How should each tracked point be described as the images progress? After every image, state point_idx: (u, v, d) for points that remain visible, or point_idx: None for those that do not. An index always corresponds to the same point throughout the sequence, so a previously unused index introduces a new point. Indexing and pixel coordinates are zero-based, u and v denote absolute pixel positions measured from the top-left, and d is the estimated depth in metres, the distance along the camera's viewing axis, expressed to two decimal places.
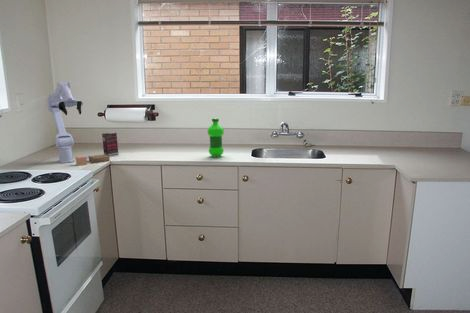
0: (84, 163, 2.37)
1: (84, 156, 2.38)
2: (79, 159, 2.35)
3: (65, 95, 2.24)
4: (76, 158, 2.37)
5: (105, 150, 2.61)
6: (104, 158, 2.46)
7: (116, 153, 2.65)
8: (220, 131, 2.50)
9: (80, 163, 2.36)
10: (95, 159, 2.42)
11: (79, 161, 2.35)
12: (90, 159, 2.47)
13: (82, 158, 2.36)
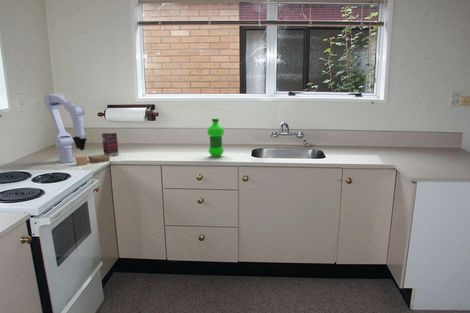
0: (84, 163, 2.37)
1: (84, 156, 2.38)
2: (79, 159, 2.35)
3: (83, 128, 2.35)
4: (76, 158, 2.37)
5: (105, 150, 2.61)
6: (104, 158, 2.46)
7: (116, 153, 2.65)
8: (220, 131, 2.50)
9: (80, 163, 2.36)
10: (95, 159, 2.42)
11: (79, 161, 2.35)
12: (90, 159, 2.47)
13: (82, 158, 2.36)
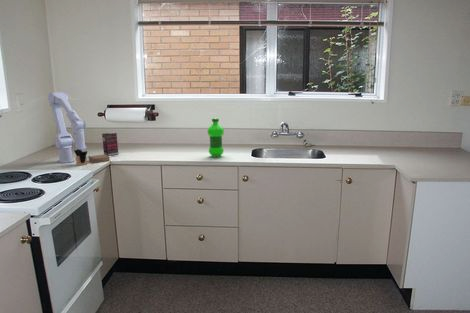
0: (84, 163, 2.37)
1: None
2: (79, 159, 2.35)
3: (84, 141, 2.36)
4: (76, 158, 2.37)
5: (105, 150, 2.61)
6: (104, 158, 2.46)
7: (116, 153, 2.65)
8: (220, 131, 2.50)
9: (80, 163, 2.36)
10: (95, 159, 2.42)
11: (79, 161, 2.35)
12: (90, 159, 2.47)
13: None
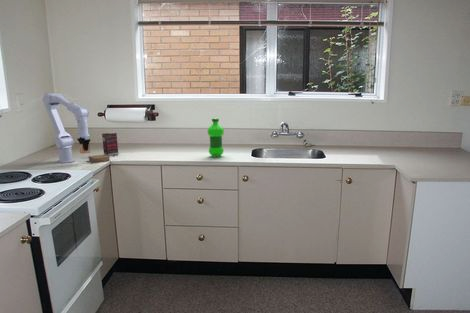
0: (87, 151, 2.38)
1: None
2: (82, 147, 2.36)
3: (87, 129, 2.37)
4: (79, 146, 2.38)
5: (105, 150, 2.61)
6: (104, 158, 2.46)
7: (116, 153, 2.65)
8: (220, 131, 2.50)
9: (83, 151, 2.37)
10: (95, 159, 2.42)
11: (82, 149, 2.36)
12: (90, 159, 2.47)
13: None
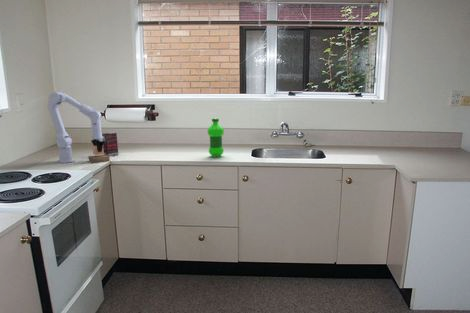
0: (101, 152, 2.46)
1: None
2: (96, 148, 2.44)
3: (101, 131, 2.46)
4: (93, 147, 2.47)
5: (105, 150, 2.61)
6: (104, 158, 2.46)
7: (116, 153, 2.65)
8: (220, 131, 2.50)
9: (97, 152, 2.45)
10: (95, 159, 2.42)
11: (96, 150, 2.44)
12: (90, 159, 2.47)
13: None
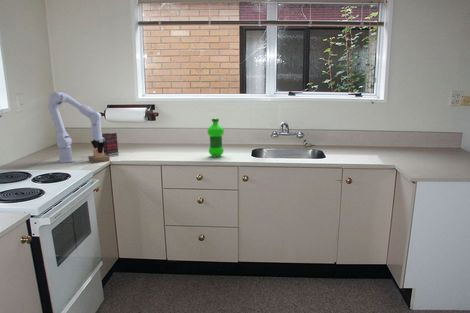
0: (101, 155, 2.47)
1: None
2: (96, 151, 2.44)
3: (101, 132, 2.46)
4: (93, 150, 2.47)
5: (105, 150, 2.61)
6: (104, 158, 2.46)
7: (116, 153, 2.65)
8: (220, 131, 2.50)
9: (97, 155, 2.45)
10: (95, 159, 2.42)
11: (96, 153, 2.45)
12: (90, 159, 2.47)
13: None
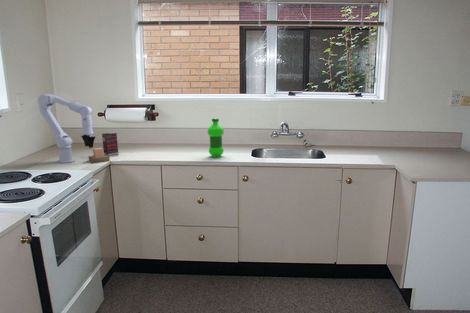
0: (101, 155, 2.47)
1: (101, 148, 2.48)
2: (96, 151, 2.44)
3: (91, 127, 2.44)
4: (93, 150, 2.47)
5: (105, 150, 2.61)
6: (104, 158, 2.46)
7: (116, 153, 2.65)
8: (220, 131, 2.50)
9: (97, 155, 2.45)
10: (95, 159, 2.42)
11: (96, 153, 2.45)
12: (90, 159, 2.47)
13: (99, 150, 2.45)
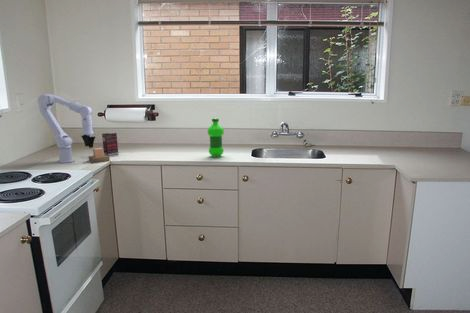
0: (101, 155, 2.47)
1: (101, 148, 2.48)
2: (96, 151, 2.44)
3: (91, 127, 2.44)
4: (93, 150, 2.47)
5: (105, 150, 2.61)
6: (104, 158, 2.46)
7: (116, 153, 2.65)
8: (220, 131, 2.50)
9: (97, 155, 2.45)
10: (95, 159, 2.42)
11: (96, 153, 2.45)
12: (90, 159, 2.47)
13: (99, 150, 2.45)
